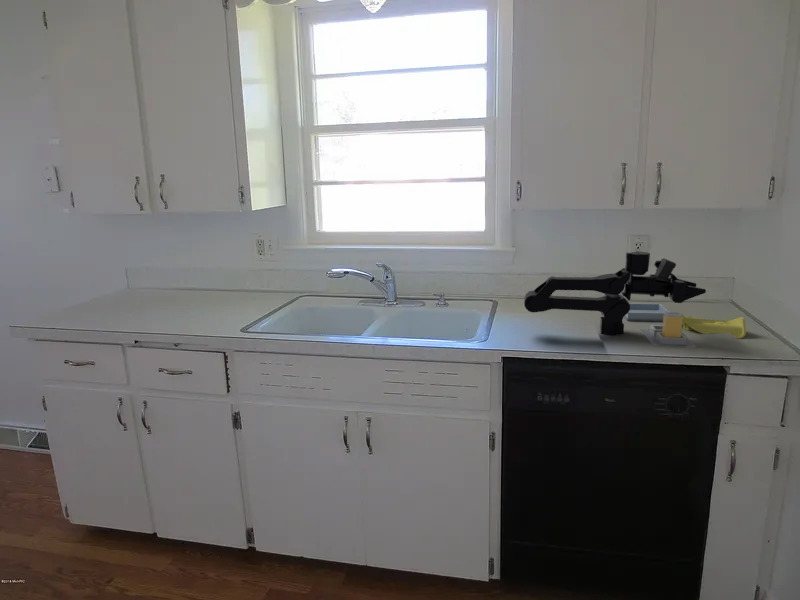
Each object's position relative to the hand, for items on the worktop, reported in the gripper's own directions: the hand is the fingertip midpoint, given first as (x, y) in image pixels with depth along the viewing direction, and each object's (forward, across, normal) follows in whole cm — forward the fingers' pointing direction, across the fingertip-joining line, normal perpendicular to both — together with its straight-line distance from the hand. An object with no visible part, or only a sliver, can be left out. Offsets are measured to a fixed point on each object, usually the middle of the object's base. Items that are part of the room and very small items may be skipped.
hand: (700, 288), depth 172 cm
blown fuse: (-9, -8, +15) cm, 19 cm away
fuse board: (-9, -4, +17) cm, 19 cm away
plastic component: (+6, +8, +17) cm, 20 cm away
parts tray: (-9, +27, +16) cm, 33 cm away
